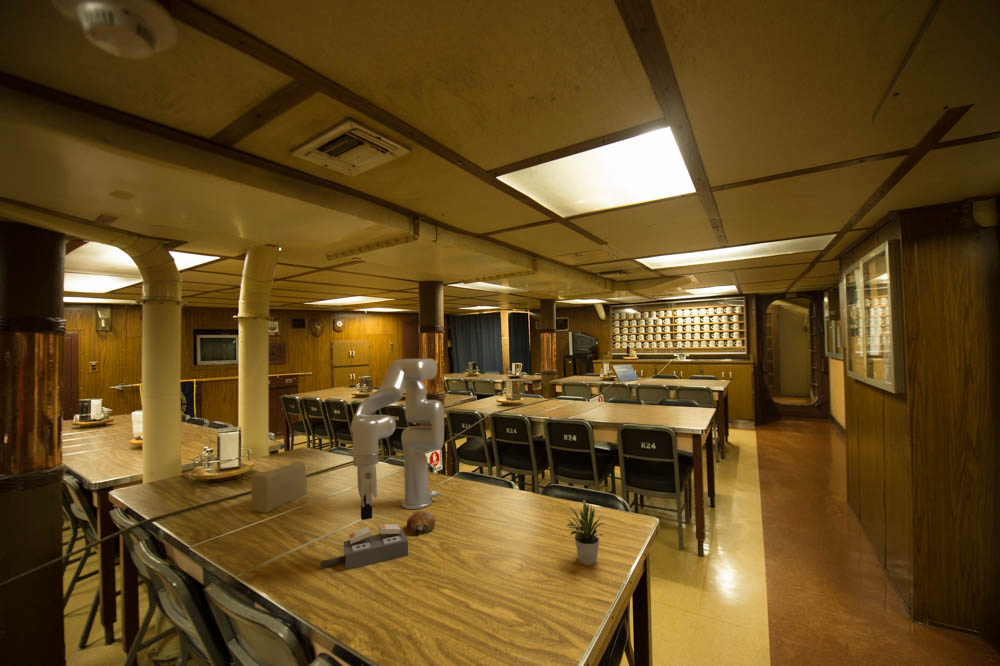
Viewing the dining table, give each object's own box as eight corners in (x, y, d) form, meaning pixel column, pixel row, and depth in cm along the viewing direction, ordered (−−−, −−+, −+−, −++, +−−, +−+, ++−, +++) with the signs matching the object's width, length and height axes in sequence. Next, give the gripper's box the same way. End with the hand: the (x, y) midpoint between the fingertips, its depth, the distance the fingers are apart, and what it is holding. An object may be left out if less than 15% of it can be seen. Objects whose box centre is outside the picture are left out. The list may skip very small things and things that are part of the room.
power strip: (402, 542, 132) (402, 527, 132) (408, 555, 123) (407, 538, 124) (319, 561, 121) (319, 544, 121) (320, 576, 113) (319, 558, 113)
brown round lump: (437, 537, 143) (441, 513, 146) (424, 536, 134) (429, 510, 138) (413, 533, 146) (418, 510, 150) (399, 532, 137) (404, 507, 141)
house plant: (558, 546, 126) (557, 494, 127) (602, 545, 126) (601, 493, 127) (564, 571, 112) (562, 512, 113) (614, 571, 112) (612, 511, 112)
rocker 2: (397, 528, 131) (398, 524, 131) (399, 533, 127) (400, 528, 127) (378, 528, 128) (379, 523, 128) (380, 533, 125) (381, 528, 125)
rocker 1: (369, 530, 127) (368, 526, 127) (370, 535, 123) (369, 531, 123) (349, 538, 125) (348, 534, 124) (350, 544, 121) (349, 539, 121)
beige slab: (298, 492, 183) (298, 459, 183) (313, 495, 179) (313, 461, 179) (250, 510, 163) (250, 473, 163) (266, 514, 159) (265, 476, 159)
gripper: (381, 462, 121) (382, 525, 120) (375, 452, 134) (375, 508, 133) (355, 466, 117) (356, 530, 116) (351, 455, 131) (351, 512, 130)
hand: (366, 518), depth 125 cm, fingers closed
